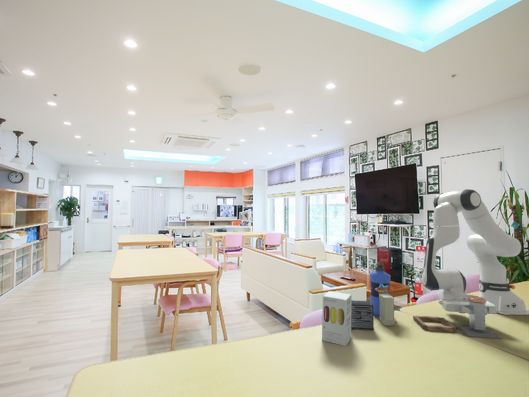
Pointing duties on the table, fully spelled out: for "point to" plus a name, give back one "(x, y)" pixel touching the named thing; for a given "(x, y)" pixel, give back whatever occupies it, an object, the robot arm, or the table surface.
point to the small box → (362, 315)
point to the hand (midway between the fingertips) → (478, 312)
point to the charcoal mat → (477, 332)
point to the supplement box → (336, 318)
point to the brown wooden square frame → (446, 328)
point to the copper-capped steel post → (477, 312)
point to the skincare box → (386, 309)
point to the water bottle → (378, 286)
